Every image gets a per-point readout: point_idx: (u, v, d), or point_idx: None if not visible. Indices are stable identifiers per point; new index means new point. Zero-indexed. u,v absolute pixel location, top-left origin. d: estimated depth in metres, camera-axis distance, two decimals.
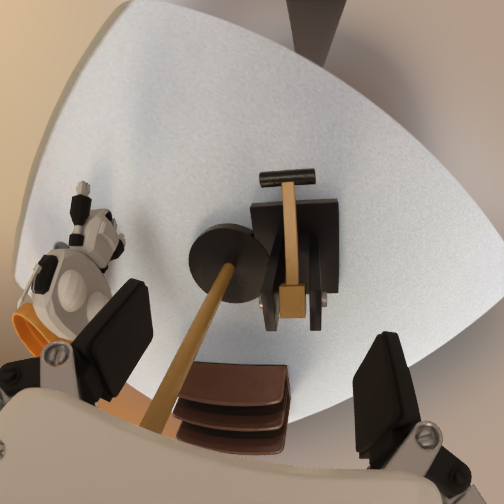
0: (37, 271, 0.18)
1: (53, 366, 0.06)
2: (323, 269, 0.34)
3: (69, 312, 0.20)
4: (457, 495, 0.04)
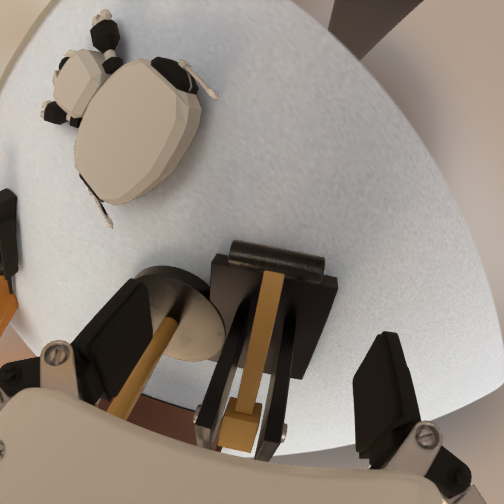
0: None
1: (53, 366, 0.06)
2: None
3: None
4: (457, 494, 0.04)
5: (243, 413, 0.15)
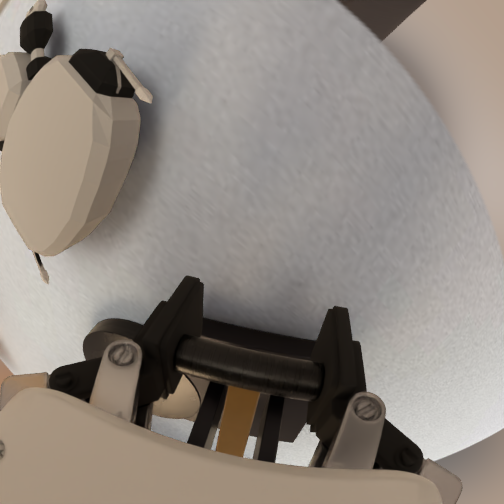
0: (118, 59, 0.08)
1: (115, 365, 0.07)
2: None
3: None
4: None
5: None
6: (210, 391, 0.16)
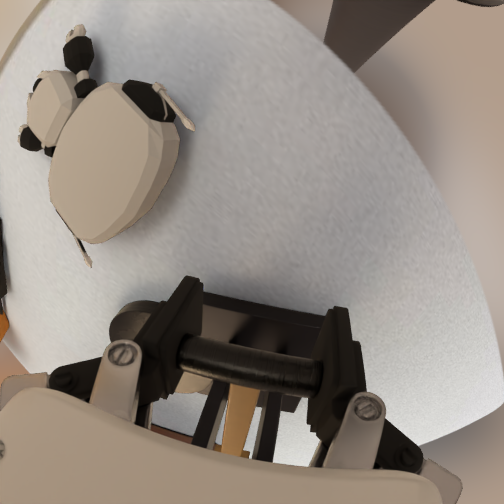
0: None
1: (115, 365, 0.07)
2: None
3: None
4: None
5: None
6: None
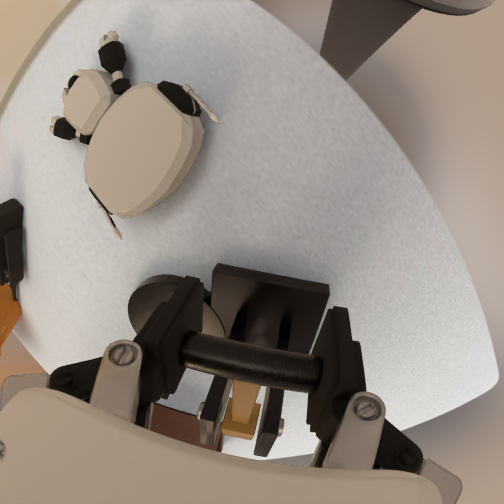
0: None
1: (115, 365, 0.07)
2: None
3: None
4: None
5: (240, 423, 0.16)
6: (236, 321, 0.24)
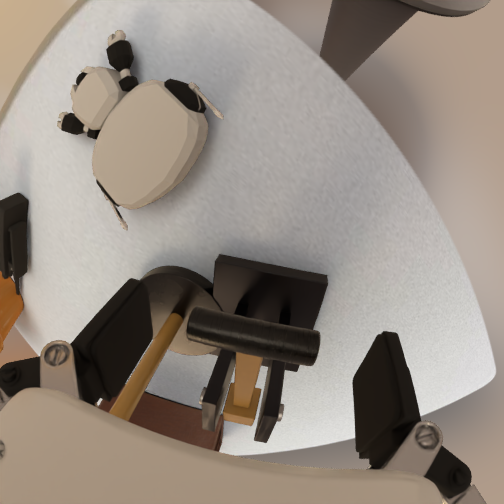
0: None
1: (53, 366, 0.06)
2: None
3: None
4: (457, 495, 0.04)
5: (241, 407, 0.17)
6: (238, 310, 0.25)
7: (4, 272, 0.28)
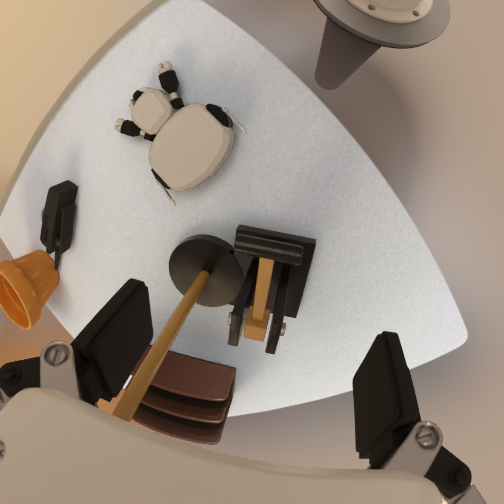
0: None
1: (53, 366, 0.06)
2: (287, 296, 0.38)
3: None
4: (457, 495, 0.04)
5: (257, 321, 0.27)
6: (252, 264, 0.35)
7: (50, 247, 0.39)
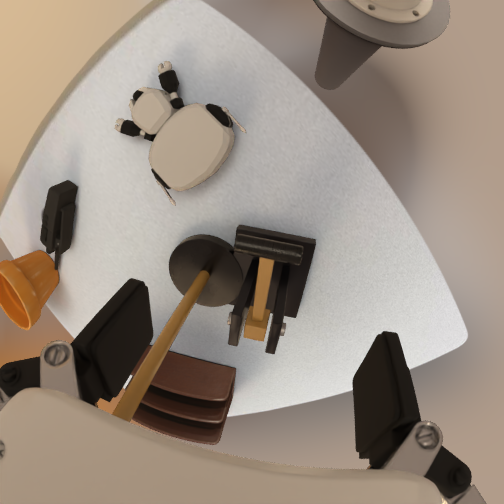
0: None
1: (53, 366, 0.06)
2: (287, 296, 0.38)
3: None
4: (457, 495, 0.04)
5: (257, 321, 0.28)
6: (252, 264, 0.35)
7: (50, 247, 0.39)
